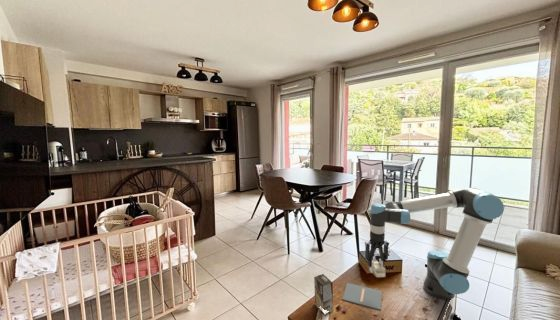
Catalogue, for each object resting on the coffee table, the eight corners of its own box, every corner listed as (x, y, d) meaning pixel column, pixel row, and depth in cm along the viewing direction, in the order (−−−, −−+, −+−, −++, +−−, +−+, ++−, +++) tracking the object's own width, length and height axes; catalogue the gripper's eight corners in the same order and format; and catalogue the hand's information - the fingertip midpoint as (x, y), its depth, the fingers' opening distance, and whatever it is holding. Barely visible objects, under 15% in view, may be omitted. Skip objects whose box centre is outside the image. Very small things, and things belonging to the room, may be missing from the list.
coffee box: (333, 311, 121) (333, 282, 120) (323, 315, 118) (323, 286, 117) (323, 300, 129) (323, 273, 128) (314, 304, 127) (313, 276, 125)
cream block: (385, 276, 125) (385, 268, 124) (376, 277, 124) (376, 269, 124) (375, 266, 134) (375, 259, 134) (367, 267, 134) (367, 259, 133)
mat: (381, 292, 135) (381, 291, 135) (380, 310, 121) (380, 309, 120) (347, 283, 144) (347, 282, 144) (342, 299, 129) (342, 298, 129)
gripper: (388, 228, 132) (387, 266, 134) (358, 229, 130) (357, 268, 132) (396, 233, 124) (394, 274, 127) (365, 235, 122) (364, 276, 124)
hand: (376, 271), depth 129 cm, fingers closed on cream block, 5 cm apart
